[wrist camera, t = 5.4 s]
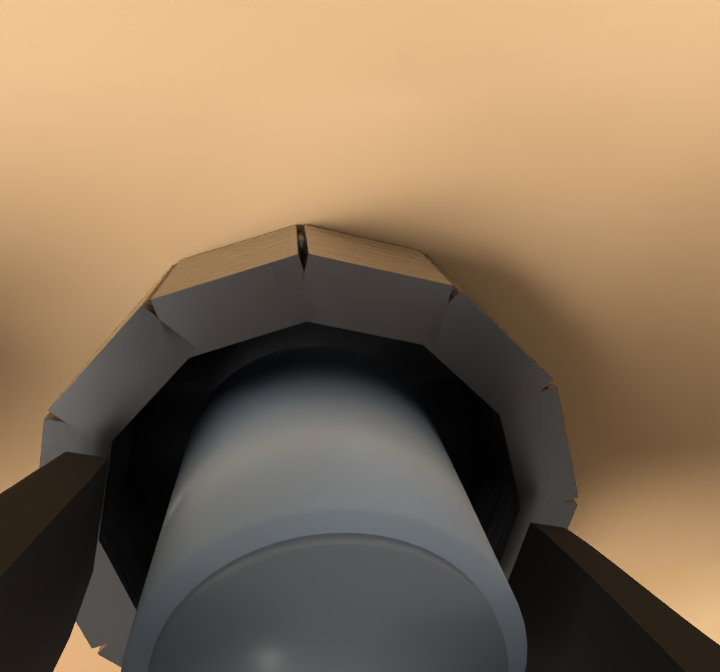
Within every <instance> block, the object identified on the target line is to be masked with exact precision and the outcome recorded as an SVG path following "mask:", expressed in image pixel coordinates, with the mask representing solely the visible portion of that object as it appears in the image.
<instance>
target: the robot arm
mask: <svg viewBox="0 0 720 672" xmlns="http://www.w3.org/2000/svg"><path fill="white" fill-rule="evenodd" d="M108 462H109V458H106V457H99V456H92V455H86V454H79V453H73V452H64V453H63V454H61V455H60V456H58V457H56V458H55V459H53V460H51V461H50V462H48V463H47V464H45V465H44V466H42V467H41V468H39V469H38V470H36V471H34V472H33V473H31V474H30V475H28V476H27V477H25V478H24V479H22V480H21V481H19V482H18V483H16V484H15V485H13V486H12V487H10V488H9V489H7V490H6V491H4V492H2V493H1V494H0V672H53V670H54V668H55V666H56V664H57V662H58V660H59V658H60V656H61V654H62V652H63V650H64V648H65V646H66V644H67V642H68V639H69V637H70V635H71V632H72V629H73V627H74V624H75V621H76V619H77V616H78V613H79V610H80V608H81V605H82V602H83V599H84V596H85V593H86V591H87V588H88V585H89V582H90V579H91V576H92V573H93V569H94V562H95V555H96V548H97V541H98V533H99V526H100V519H101V512H102V505H103V498H104V490H105V483H106V476H107V469H108ZM508 583H509V586H510V588H511V590H512V592H513V594H514V596H515V598H516V600H517V603H518V605H519V608H520V611H521V614H522V617H523V621H524V624H525V631H526V638H527V664H526V669H525V672H720V645H719V644H717V643H716V642H714V641H713V640H712V639H710V638H709V637H708V636H706V635H705V634H704V633H702V632H701V631H700V630H698V629H697V628H696V627H694V626H693V625H692V624H690V623H689V622H688V621H687V620H685V619H684V618H683V617H681V616H680V615H679V614H677V613H676V612H675V611H674V610H672V609H671V608H670V607H668V606H667V605H666V604H665V603H663V602H662V601H661V600H660V599H658V598H657V597H656V596H654V595H653V594H652V593H651V592H649V591H648V590H647V589H646V588H644V587H643V586H642V585H641V584H639V583H638V582H637V581H635V580H634V579H633V578H632V577H630V576H629V575H628V574H627V573H625V572H624V571H623V570H622V569H620V568H619V567H618V566H616V565H615V564H614V563H613V562H611V561H610V560H609V559H607V558H606V557H605V556H604V555H602V554H601V553H600V552H598V551H597V550H596V549H594V548H593V547H592V546H590V545H589V544H588V543H586V542H585V541H584V540H582V539H581V538H579V537H578V536H576V535H575V534H573V533H572V532H570V531H569V530H567V529H565V528H564V527H558V526H551V525H544V524H538V523H531V522H530V525H529V527H528V530H527V532H526V535H525V538H524V540H523V543H522V545H521V548H520V551H519V553H518V556H517V559H516V561H515V564H514V566H513V569H512V572H511V574H510V577H509V579H508Z"/></svg>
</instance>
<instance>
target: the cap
mask: <svg viewBox="0 0 720 672" xmlns="http://www.w3.org/2000/svg"><path fill="white" fill-rule="evenodd" d="M526 664H527V638H526V631H525V624H524V621H523V617H522V614H521V611H520V608H519V605H518V603H517V600H516V598H515V596H514V594H513V592H512V590H511V588H510V586H509V583H508V581H507V579H506V577H505V575H504V573H503V571H502V569H501V566H500V564H499V562H498V560H497V558H496V556H495V554H494V552H493V549H492V547H491V545H490V543H489V541H488V539H487V537H486V535H485V532H484V530H483V528H482V526H481V524H480V522H479V520H478V518H477V515H476V513H475V511H474V509H473V507H472V505H471V503H470V501H469V498H468V496H467V494H466V492H465V490H464V488H463V486H462V484H461V481H460V479H459V477H458V475H457V473H456V471H455V469H454V467H453V464H452V462H451V460H450V458H449V456H448V454H447V452H446V450H445V447H444V445H443V443H442V441H441V439H440V437H439V435H438V433H437V430H436V428H435V426H434V424H433V422H432V420H431V418H430V416H429V413H428V411H427V409H426V407H425V406H424V404H423V402H422V400H421V399H420V397H419V396H418V394H417V393H416V392H415V390H414V389H413V388H412V387H411V386H410V385H409V383H408V382H407V381H406V380H405V379H404V378H403V377H401V376H400V375H399V374H398V373H396V372H395V371H394V370H393V369H391V368H390V367H388V366H387V365H385V364H383V363H381V362H380V361H378V360H376V359H374V358H371V357H369V356H367V355H364V354H362V353H359V352H355V351H352V350H348V349H344V348H337V347H330V346H304V347H294V348H289V349H285V350H280V351H276V352H274V353H271V354H268V355H265V356H262V357H260V358H258V359H256V360H254V361H252V362H250V363H248V364H246V365H244V366H243V367H241V368H240V369H238V370H237V371H235V372H234V373H232V374H231V375H230V376H229V377H228V378H226V379H225V380H224V381H223V382H222V383H221V384H220V385H219V386H218V387H217V388H216V389H215V390H214V391H213V393H212V394H211V395H210V396H209V397H208V399H207V400H206V402H205V403H204V405H203V406H202V408H201V409H200V411H199V413H198V415H197V418H196V420H195V422H194V424H193V427H192V430H191V434H190V437H189V440H188V444H187V447H186V450H185V453H184V457H183V460H182V463H181V467H180V470H179V473H178V476H177V480H176V483H175V486H174V489H173V493H172V496H171V499H170V503H169V506H168V509H167V512H166V516H165V519H164V522H163V526H162V529H161V532H160V535H159V539H158V542H157V545H156V549H155V552H154V555H153V558H152V562H151V565H150V568H149V571H148V575H147V578H146V581H145V585H144V588H143V591H142V594H141V598H140V601H139V604H138V608H137V611H136V614H135V617H134V621H133V624H132V627H131V631H130V634H129V637H128V641H127V644H126V648H125V651H124V655H123V659H122V669H121V672H525V669H526Z"/></svg>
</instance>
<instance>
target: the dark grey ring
mask: <svg viewBox="0 0 720 672" xmlns="http://www.w3.org/2000/svg"><path fill="white" fill-rule="evenodd" d="M304 346H330V347H337V348H344V349H348V350H352V351H355V352H359V353H362V354H364V355H367V356H369V357H371V358H374V359H376V360H378V361H380V362H381V363H383V364H385V365H387V366H388V367H390V368H391V369H393V370H394V371H395V372H396V373H398V374H399V375H400V376H401V377H403V378H404V379H405V380H406V381H407V382H408V383H409V385H410V386H411V387H412V388H413V389H414V390H415V392H416V393H417V394H418V396H419V397H420V399H421V400H422V402H423V404H424V406H425V407H426V409H427V411H428V413H429V416H430V418H431V420H432V422H433V424H434V426H435V428H436V430H437V433H438V435H439V437H440V439H441V441H442V443H443V445H444V447H445V450H446V452H447V454H448V456H449V458H450V460H451V462H452V464H453V467H454V469H455V471H456V473H457V475H458V477H459V479H460V481H461V484H462V486H463V488H464V490H465V492H466V494H467V496H468V498H469V501H470V503H471V505H472V507H473V509H474V511H475V513H476V515H477V518H478V520H479V522H480V524H481V526H482V528H483V530H484V532H485V535H486V537H487V539H488V541H489V543H490V545H491V547H492V549H493V552H494V554H495V556H496V558H497V560H498V562H499V564H500V566H501V569H502V571H503V573H504V575H505V577H506V579H507V581H508V579H509V577H510V574H511V572H512V569H513V566H514V564H515V561H516V559H517V556H518V553H519V551H520V548H521V545H522V543H523V540H524V538H525V535H526V532H527V530H528V527H529V525H530V522H531V523H538V524H544V525H551V526H558V527H564V528H565V529H568V526H569V524H570V521H571V519H572V516H573V514H574V511H575V509H576V506H577V503H576V502H575V501H574V499H573V498H576V497H578V494H577V489H576V483H575V478H574V473H573V468H572V463H571V457H570V452H569V447H568V442H567V436H566V431H565V426H564V421H563V416H562V410H561V405H560V400H559V395H558V389H557V386H556V385H555V384H554V383H553V382H552V380H553V379H552V378H551V377H550V376H549V375H548V374H547V373H546V372H545V371H544V370H543V369H542V368H541V367H540V366H539V365H538V364H537V363H536V362H535V361H534V360H533V359H532V358H531V357H530V356H529V355H528V354H527V353H526V352H525V351H524V350H523V349H522V348H521V347H520V346H519V345H518V344H517V343H516V342H515V341H514V340H513V339H512V338H511V337H510V336H509V335H508V334H507V333H506V332H505V331H504V330H503V329H502V328H501V327H500V326H499V325H498V324H497V323H496V322H495V321H494V320H493V319H492V318H490V317H489V316H488V315H487V314H486V313H485V312H484V311H483V310H482V309H481V308H480V307H479V306H478V305H477V304H476V303H475V302H474V301H473V300H472V299H471V298H470V297H469V296H468V295H467V294H466V293H465V292H464V291H463V290H462V289H461V288H460V287H459V286H458V285H457V284H456V283H455V282H454V281H453V280H452V279H451V278H450V277H449V276H448V275H446V274H445V273H444V272H443V271H442V270H441V269H440V268H439V267H438V266H437V265H436V264H435V263H434V262H433V261H432V260H431V259H430V258H429V257H428V256H427V255H425V256H424V255H423V254H422V253H421V252H420V251H419V250H414V249H410V248H406V247H401V246H397V245H392V244H388V243H384V242H379V241H375V240H371V239H366V238H362V237H357V236H353V235H349V234H344V233H340V232H336V231H331V230H327V229H323V228H318V227H314V226H309V225H305V224H304V228H303V232H298V230H297V226H296V225H293V226H290V227H287V228H283V229H280V230H277V231H274V232H270V233H267V234H264V235H261V236H257V237H254V238H251V239H248V240H244V241H241V242H238V243H235V244H231V245H228V246H225V247H222V248H218V249H215V250H212V251H209V252H205V253H202V254H199V255H196V256H192V257H189V258H186V259H183V260H180V261H179V262H178V264H177V265H176V266H174V265H172V267H171V268H170V269H169V270H168V271H167V272H166V273H165V274H164V276H163V277H162V278H161V279H160V280H159V281H158V282H157V283H156V285H155V286H154V287H153V288H152V289H151V290H150V291H149V293H148V294H147V295H146V296H145V297H144V298H143V299H142V300H141V302H140V303H139V304H138V305H137V306H136V307H135V308H134V309H133V311H132V312H131V313H130V314H129V315H128V316H127V317H126V319H125V320H124V321H123V322H122V323H121V324H120V325H119V326H118V328H117V329H116V330H115V331H114V332H113V333H112V334H111V335H110V337H109V338H108V339H107V340H106V341H105V342H104V343H103V345H102V346H101V347H100V348H99V349H98V350H97V351H96V353H95V354H94V355H93V356H92V358H91V359H90V360H89V361H88V362H87V364H86V365H85V366H84V367H83V369H82V370H81V371H80V372H79V373H78V375H77V376H76V377H75V378H74V380H73V381H72V382H71V383H70V385H69V386H68V387H67V388H66V389H65V391H64V392H63V393H62V394H61V396H60V397H59V398H58V399H57V400H56V402H55V403H54V404H53V405H52V407H51V408H50V409H49V410H48V411H49V412H50V413H49V414H48V415H47V416H46V418H45V419H44V428H43V438H42V448H41V457H40V467H39V468H41V467H42V466H44V465H45V464H47V463H48V462H50V461H51V460H53V459H55V458H56V457H58V456H60V455H61V454H63V453H64V452H73V453H79V454H86V455H92V456H99V457H106V458H109V462H108V469H107V476H106V483H105V490H104V498H103V505H102V512H101V519H100V526H99V533H98V541H97V548H96V555H95V562H94V569H93V573H92V576H91V579H90V582H89V585H88V588H87V591H86V593H85V596H84V599H83V602H82V605H81V608H80V610H79V613H78V616H77V619H76V622H77V624H78V626H79V627H80V629H81V631H82V632H83V634H84V636H85V638H86V639H87V641H88V643H89V644H90V646H91V648H95V647H98V646H100V649H99V651H98V654H99V655H100V656H102V657H104V658H106V659H108V660H109V661H111V662H113V663H115V664H116V665H118V666H120V667H122V659H123V655H124V651H125V648H126V644H127V641H128V637H129V634H130V631H131V627H132V624H133V621H134V617H135V614H136V611H137V608H138V604H139V601H140V598H141V594H142V591H143V588H144V585H145V581H146V578H147V575H148V571H149V568H150V565H151V562H152V558H153V555H154V552H155V549H156V545H157V542H158V539H159V535H160V532H161V529H162V526H163V522H164V519H165V516H166V512H167V509H168V506H169V503H170V499H171V496H172V493H173V489H174V486H175V483H176V480H177V476H178V473H179V470H180V467H181V463H182V460H183V457H184V453H185V450H186V447H187V444H188V440H189V437H190V434H191V430H192V427H193V424H194V422H195V420H196V418H197V415H198V413H199V411H200V409H201V408H202V406H203V405H204V403H205V402H206V400H207V399H208V397H209V396H210V395H211V394H212V393H213V391H214V390H215V389H216V388H217V387H218V386H219V385H220V384H221V383H222V382H223V381H224V380H225V379H226V378H228V377H229V376H230V375H231V374H232V373H234V372H235V371H237V370H238V369H240V368H241V367H243V366H244V365H246V364H248V363H250V362H252V361H254V360H256V359H258V358H260V357H262V356H265V355H268V354H271V353H274V352H276V351H280V350H285V349H289V348H294V347H304Z"/></svg>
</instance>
